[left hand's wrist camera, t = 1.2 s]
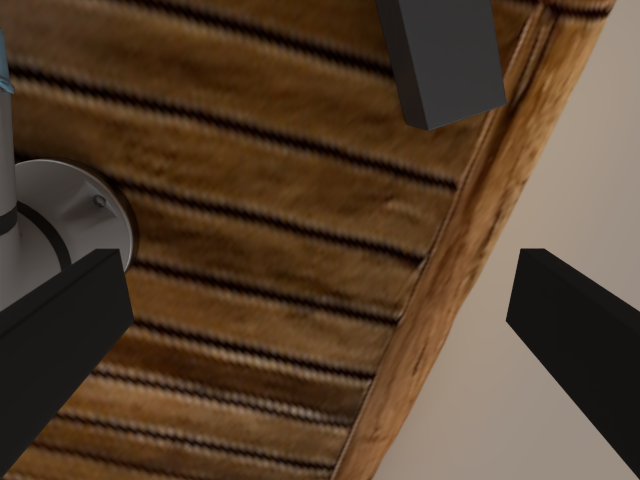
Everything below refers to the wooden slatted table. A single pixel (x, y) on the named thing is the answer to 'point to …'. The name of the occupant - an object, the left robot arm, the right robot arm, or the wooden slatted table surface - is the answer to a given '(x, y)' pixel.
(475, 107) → the bar
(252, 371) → the wooden slatted table surface
